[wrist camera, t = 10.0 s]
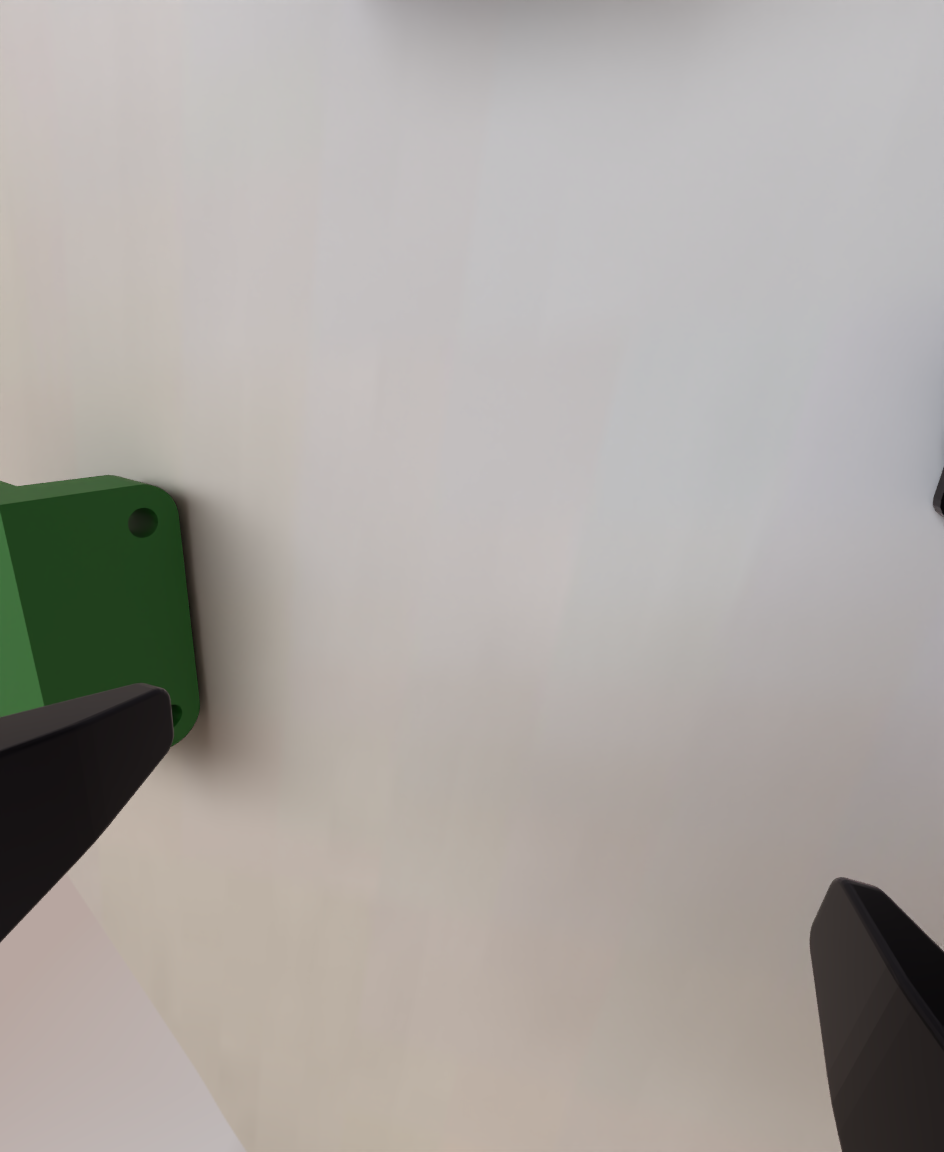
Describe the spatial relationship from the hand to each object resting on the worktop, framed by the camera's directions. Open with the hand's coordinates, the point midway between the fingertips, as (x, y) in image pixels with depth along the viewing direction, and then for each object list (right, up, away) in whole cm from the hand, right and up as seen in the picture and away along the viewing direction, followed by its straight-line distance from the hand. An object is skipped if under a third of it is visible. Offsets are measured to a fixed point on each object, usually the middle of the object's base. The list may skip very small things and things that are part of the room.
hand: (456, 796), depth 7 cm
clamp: (-15, +2, +17) cm, 23 cm away
